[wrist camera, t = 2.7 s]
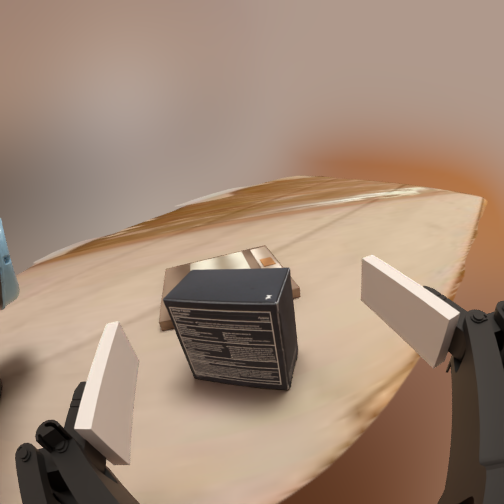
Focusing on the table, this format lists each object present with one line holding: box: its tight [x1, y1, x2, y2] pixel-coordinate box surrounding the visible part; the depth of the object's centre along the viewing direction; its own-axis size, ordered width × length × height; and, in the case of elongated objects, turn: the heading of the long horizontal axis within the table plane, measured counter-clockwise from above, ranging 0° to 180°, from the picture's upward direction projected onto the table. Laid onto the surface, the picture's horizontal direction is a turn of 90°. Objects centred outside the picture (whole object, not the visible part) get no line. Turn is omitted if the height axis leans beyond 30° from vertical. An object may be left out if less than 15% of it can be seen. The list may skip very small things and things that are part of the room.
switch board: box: [159, 245, 300, 331], centre depth 45 cm, size 20×18×2 cm
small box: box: [163, 268, 298, 390], centre depth 26 cm, size 11×6×10 cm, turn 74°
